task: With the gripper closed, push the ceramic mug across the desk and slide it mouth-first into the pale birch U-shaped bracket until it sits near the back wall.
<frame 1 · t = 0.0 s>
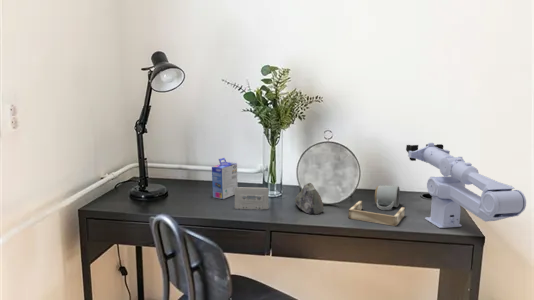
hand: (416, 147, 179), 22 cm above the table, tool horizontal, fingers open, 7 cm apart
mineral rock: (308, 209, 178), on the table
cassette: (251, 209, 177), on the table
bracket: (376, 217, 170), on the table
ink cartridge box: (225, 196, 193), on the table
ceramic mug: (386, 207, 182), on the table
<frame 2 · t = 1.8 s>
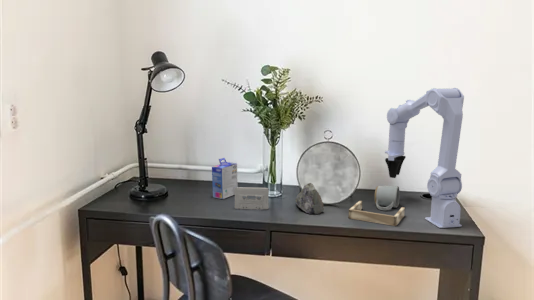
hand: (394, 176, 188), 9 cm above the table, tool pointing down, fingers open, 5 cm apart
nothing on the table moved.
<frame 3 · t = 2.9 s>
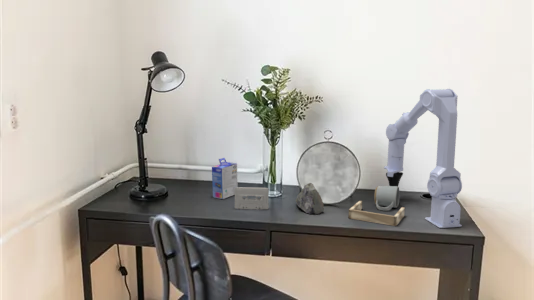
hand: (393, 191, 189), 3 cm above the table, tool pointing down, fingers closed
nothing on the table moved.
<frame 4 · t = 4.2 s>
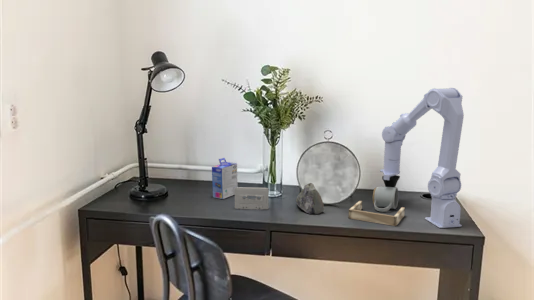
hand: (389, 195, 184), 3 cm above the table, tool pointing down, fingers closed
ceramic mug: (384, 208, 179), on the table, touching gripper
everything else where it was.
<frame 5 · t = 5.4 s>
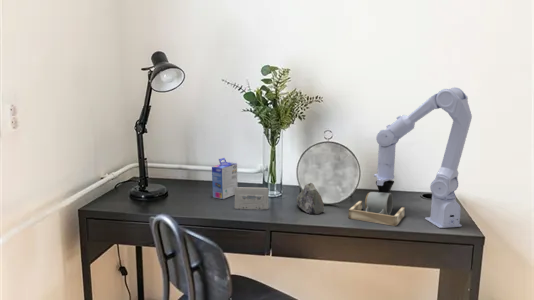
hand: (383, 200, 177), 3 cm above the table, tool pointing down, fingers closed
ceramic mug: (377, 215, 172), on the table, touching gripper
everything else where it was.
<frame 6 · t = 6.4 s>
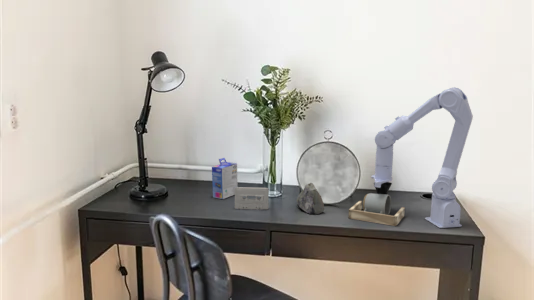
hand: (381, 202, 174), 3 cm above the table, tool pointing down, fingers closed, pressing on ceramic mug
ceramic mug: (375, 216, 170), on the table, touching bracket, gripper
everything else where it was.
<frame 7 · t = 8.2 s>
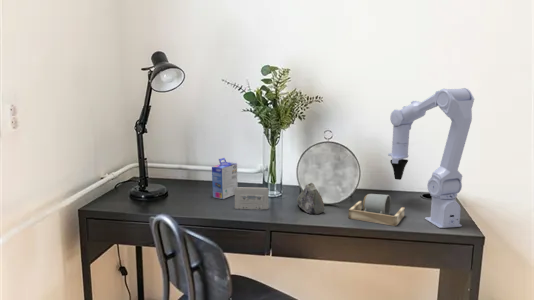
hand: (398, 179, 183), 9 cm above the table, tool pointing down, fingers closed
ceramic mug: (375, 217, 170), on the table
everything else where it was.
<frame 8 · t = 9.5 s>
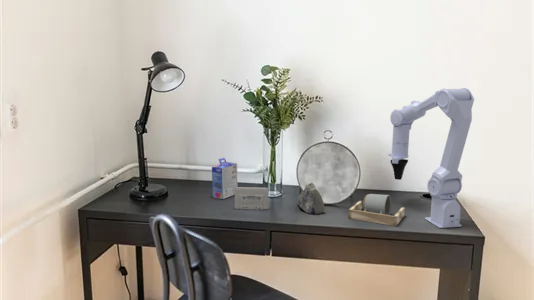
hand: (398, 179, 183), 9 cm above the table, tool pointing down, fingers closed
nothing on the table moved.
at the end: ceramic mug 0.6 cm from the bracket (horizontally); ceramic mug tilted 0°; ceramic mug moved 13.5 cm from its start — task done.
